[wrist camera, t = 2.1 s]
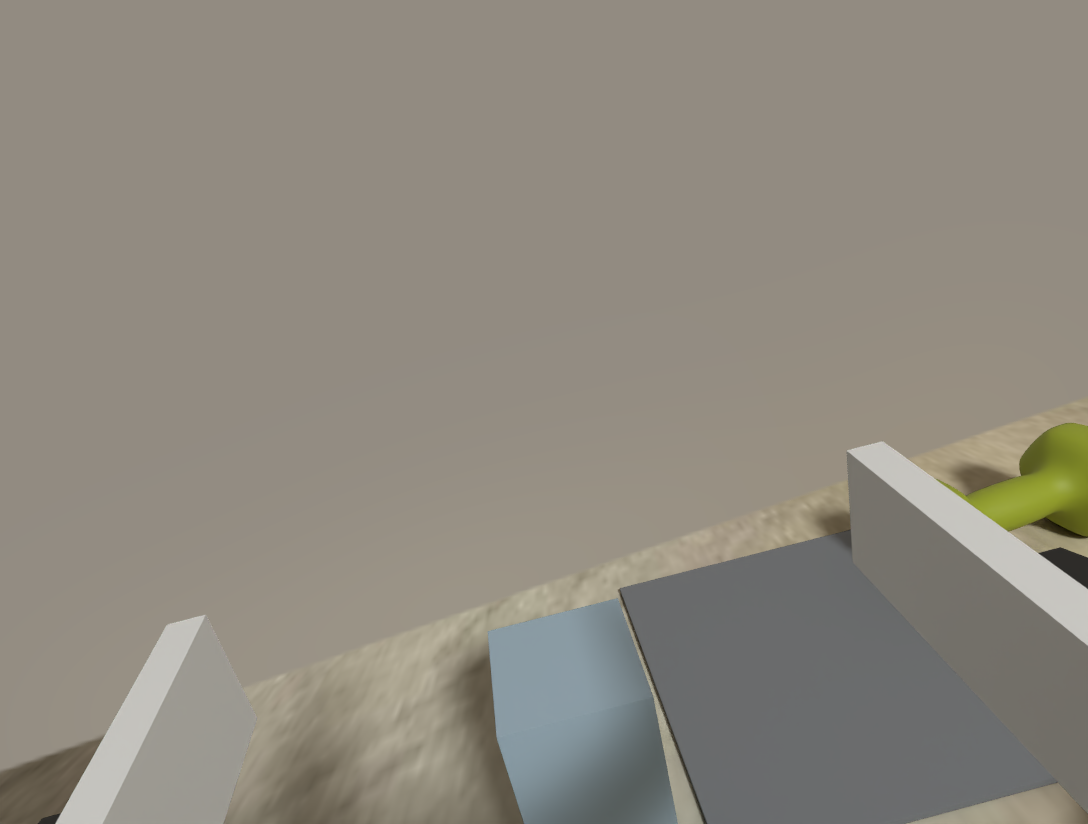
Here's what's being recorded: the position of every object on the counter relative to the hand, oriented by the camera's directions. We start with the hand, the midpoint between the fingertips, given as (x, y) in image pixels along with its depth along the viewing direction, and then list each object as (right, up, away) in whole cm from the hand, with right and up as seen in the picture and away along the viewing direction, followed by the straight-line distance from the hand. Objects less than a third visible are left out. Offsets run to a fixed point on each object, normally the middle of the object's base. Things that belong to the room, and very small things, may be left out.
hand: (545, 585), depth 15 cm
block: (+4, -19, +20) cm, 28 cm away
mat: (+17, -12, +30) cm, 37 cm away
